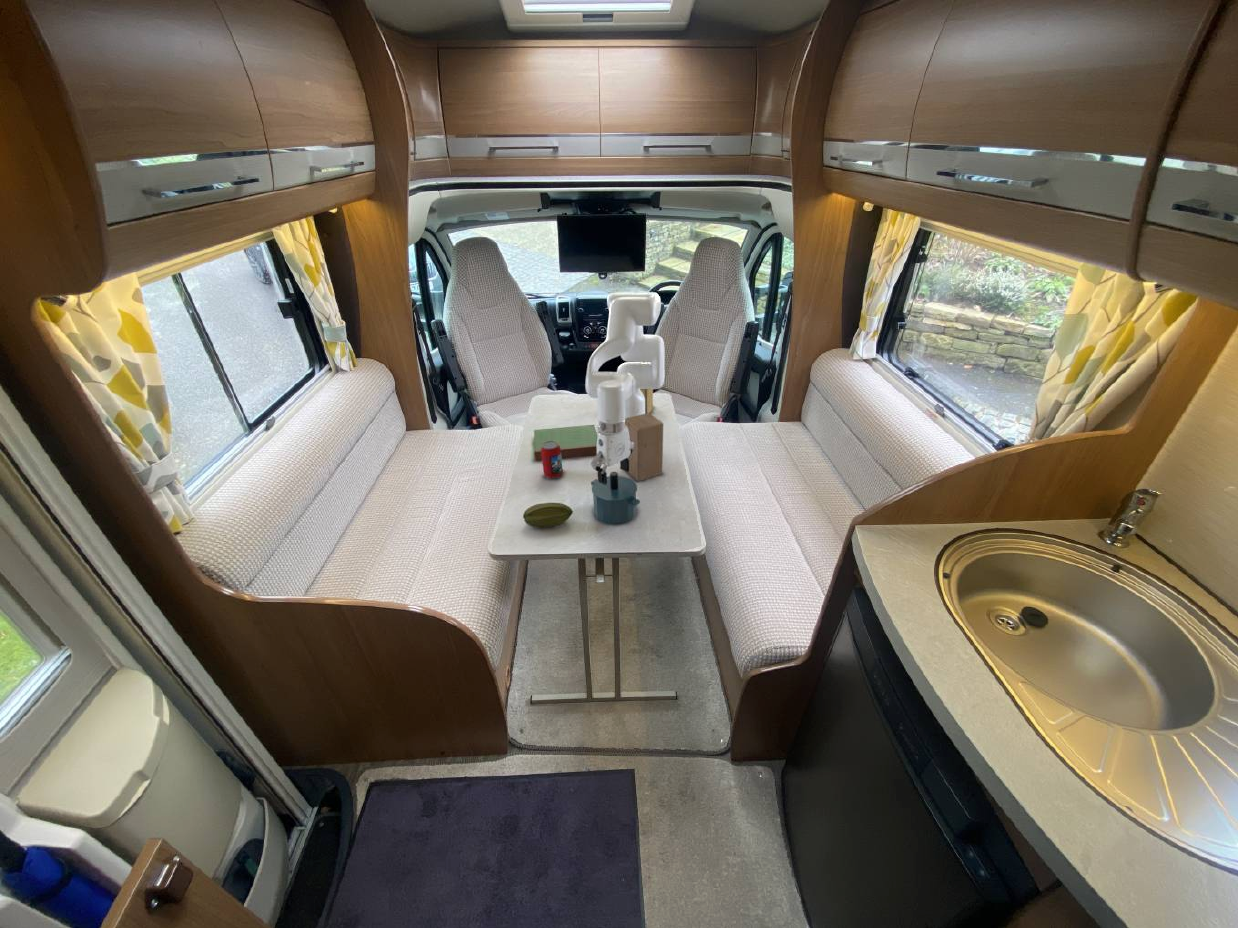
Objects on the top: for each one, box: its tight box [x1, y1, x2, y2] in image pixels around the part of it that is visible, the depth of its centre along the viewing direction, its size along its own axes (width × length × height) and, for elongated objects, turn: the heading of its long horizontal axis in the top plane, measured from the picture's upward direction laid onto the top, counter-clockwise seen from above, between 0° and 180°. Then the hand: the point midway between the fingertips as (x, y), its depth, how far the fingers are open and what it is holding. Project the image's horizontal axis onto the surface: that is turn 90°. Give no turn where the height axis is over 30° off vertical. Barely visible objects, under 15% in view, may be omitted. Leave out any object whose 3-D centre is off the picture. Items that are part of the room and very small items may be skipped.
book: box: [533, 424, 598, 462], centre depth 193 cm, size 25×19×4 cm
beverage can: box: [541, 441, 564, 479], centre depth 173 cm, size 7×7×12 cm
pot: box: [590, 478, 641, 525], centre depth 154 cm, size 13×18×8 cm
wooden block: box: [625, 413, 664, 482], centre depth 171 cm, size 10×10×20 cm
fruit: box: [522, 502, 574, 529], centre depth 149 cm, size 11×12×7 cm
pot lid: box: [591, 471, 638, 502], centre depth 150 cm, size 14×14×6 cm
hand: (613, 476), depth 149 cm, fingers open, 9 cm apart
